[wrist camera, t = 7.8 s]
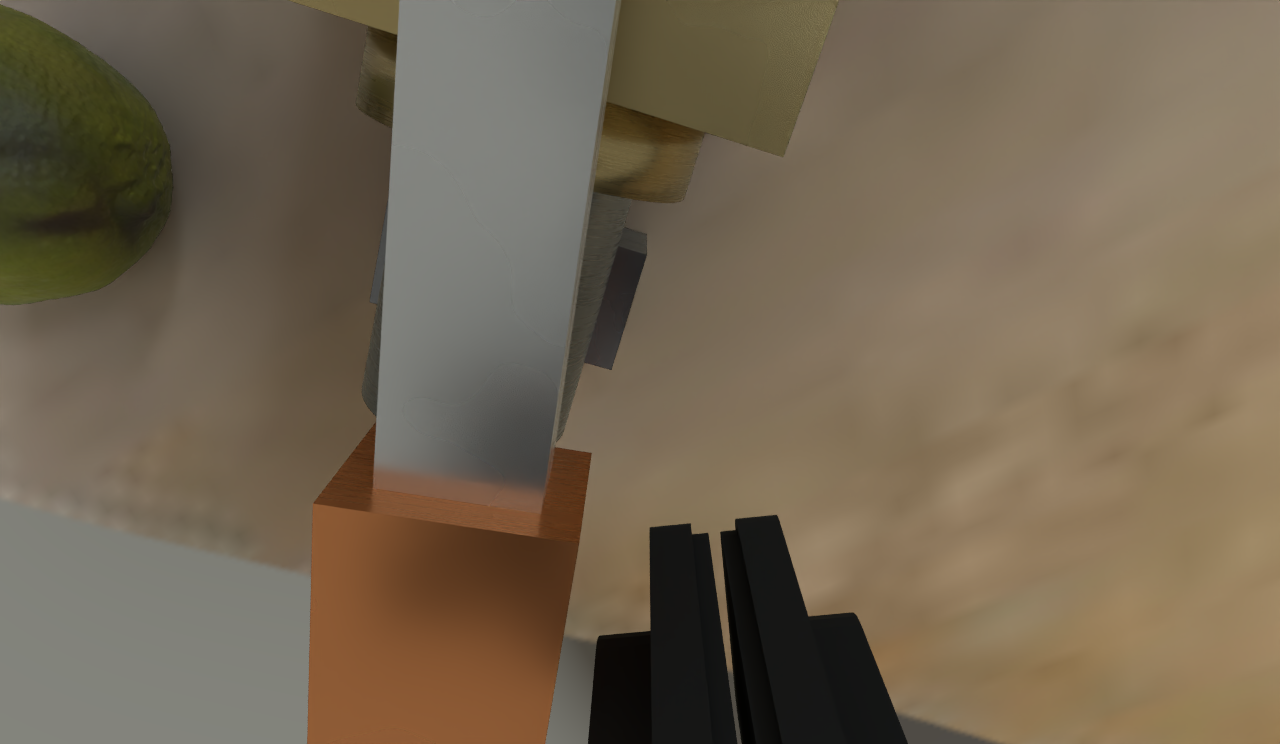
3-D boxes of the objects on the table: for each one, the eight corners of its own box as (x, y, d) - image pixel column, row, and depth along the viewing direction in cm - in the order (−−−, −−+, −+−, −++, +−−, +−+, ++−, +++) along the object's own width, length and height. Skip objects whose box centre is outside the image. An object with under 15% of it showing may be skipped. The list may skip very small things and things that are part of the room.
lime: (86, 290, 17) (-128, 373, 12) (-51, 64, 15) (-360, 59, 11) (269, 226, 16) (118, 286, 12) (147, -16, 15) (-86, -58, 10)
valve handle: (420, -605, 6) (326, -896, 4) (769, -523, 6) (821, -770, 4) (351, 754, 10) (295, 885, 9) (544, 778, 10) (525, 913, 9)
